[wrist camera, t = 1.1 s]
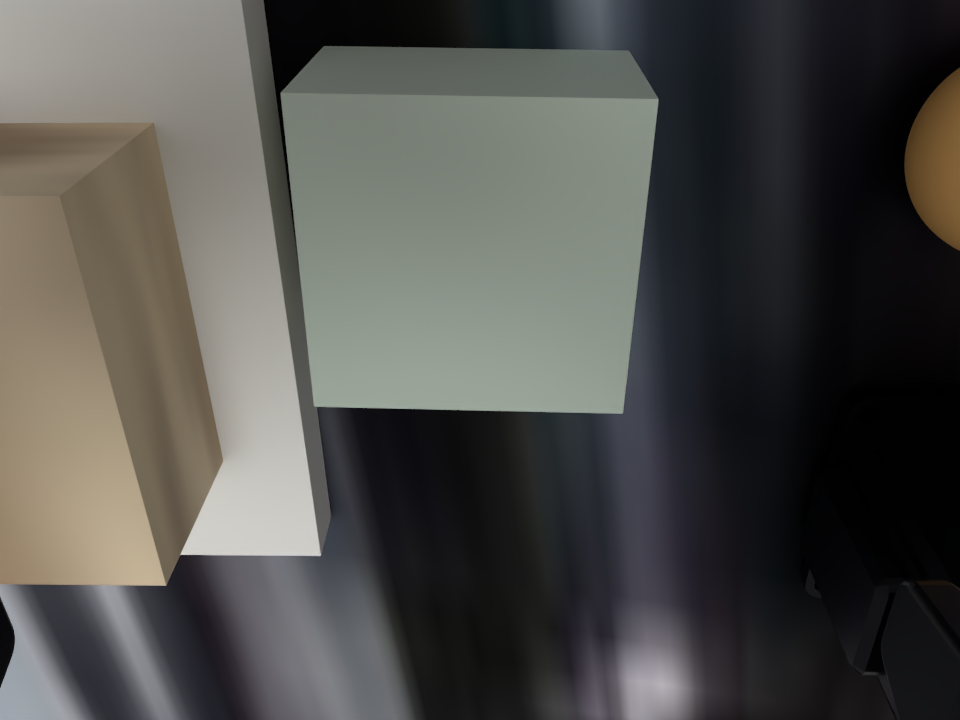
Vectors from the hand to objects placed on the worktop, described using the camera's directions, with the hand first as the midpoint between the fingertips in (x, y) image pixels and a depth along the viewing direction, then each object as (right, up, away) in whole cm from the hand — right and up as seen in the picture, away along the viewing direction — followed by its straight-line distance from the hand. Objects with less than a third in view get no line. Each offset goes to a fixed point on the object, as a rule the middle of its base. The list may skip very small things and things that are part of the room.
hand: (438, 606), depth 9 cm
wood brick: (-10, +3, +10) cm, 14 cm away
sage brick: (0, +6, +10) cm, 12 cm away
